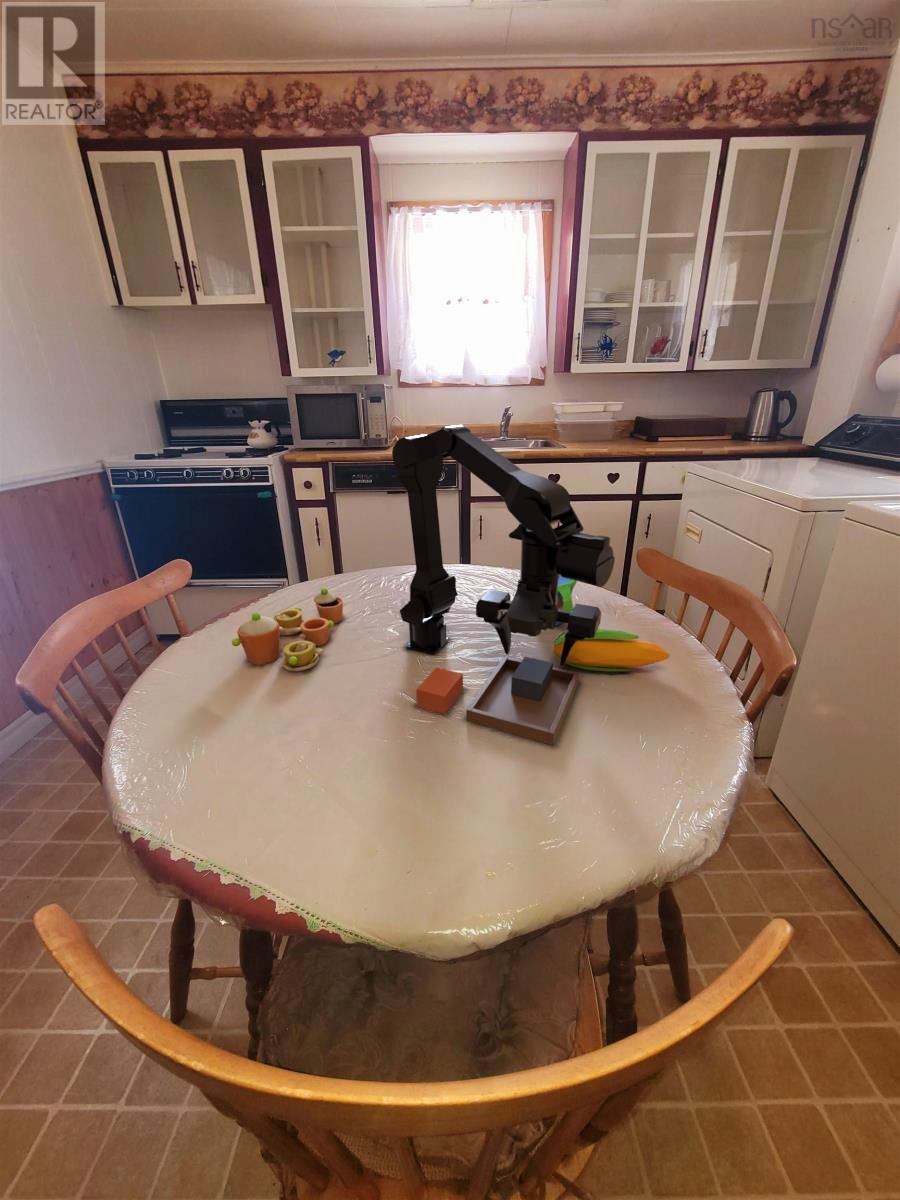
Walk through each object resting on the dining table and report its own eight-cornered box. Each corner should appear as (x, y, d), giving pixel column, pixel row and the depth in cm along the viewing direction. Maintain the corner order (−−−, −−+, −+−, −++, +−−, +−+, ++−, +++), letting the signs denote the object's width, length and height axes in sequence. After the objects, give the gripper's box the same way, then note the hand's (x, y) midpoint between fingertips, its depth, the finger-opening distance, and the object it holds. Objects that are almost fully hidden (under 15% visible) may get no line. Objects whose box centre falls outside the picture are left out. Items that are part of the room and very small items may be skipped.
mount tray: (466, 720, 75) (466, 709, 74) (503, 666, 89) (504, 656, 88) (553, 745, 69) (554, 734, 69) (578, 683, 83) (579, 672, 82)
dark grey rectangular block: (510, 694, 80) (511, 677, 78) (523, 672, 86) (524, 656, 84) (540, 701, 78) (541, 684, 76) (551, 679, 84) (552, 662, 82)
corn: (554, 617, 89) (668, 622, 86) (551, 651, 93) (660, 657, 90) (555, 639, 83) (678, 646, 80) (552, 674, 86) (670, 682, 83)
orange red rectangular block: (417, 706, 78) (416, 689, 77) (437, 683, 84) (436, 667, 83) (445, 714, 76) (444, 696, 75) (463, 690, 82) (462, 673, 81)
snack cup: (512, 607, 111) (513, 565, 107) (555, 602, 113) (558, 561, 109) (538, 639, 97) (541, 593, 93) (586, 633, 99) (591, 587, 95)
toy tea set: (311, 677, 87) (304, 630, 83) (230, 673, 88) (219, 626, 84) (354, 613, 110) (350, 574, 106) (290, 611, 112) (283, 572, 108)
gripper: (461, 579, 70) (462, 671, 76) (592, 600, 62) (581, 699, 69) (489, 556, 79) (488, 639, 86) (606, 571, 72) (595, 661, 78)
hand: (534, 658), depth 79 cm, fingers open, 9 cm apart
